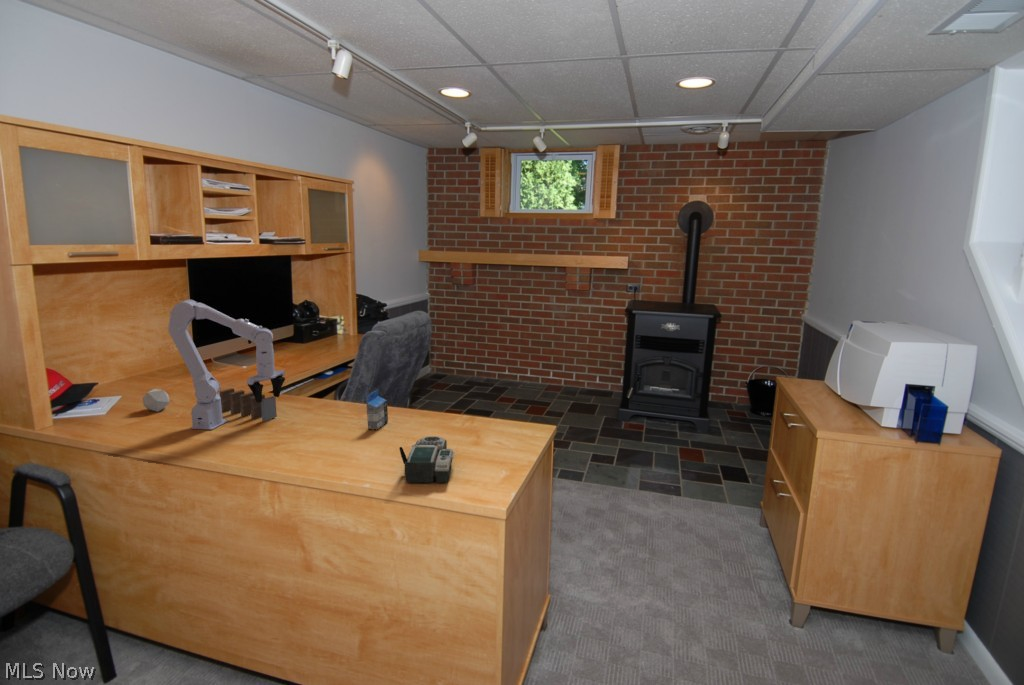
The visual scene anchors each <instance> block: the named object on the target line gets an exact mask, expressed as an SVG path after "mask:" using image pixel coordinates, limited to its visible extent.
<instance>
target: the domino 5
mask: <svg viewBox="0 0 1024 685" xmlns="http://www.w3.org/2000/svg"><path fill="white" fill-rule="evenodd" d="M276 398H277V397H274V395H273V396H272V395H271V396H269V397H265V399H262V402H261V410H262V417H261V420H262V421H261V422H264V421H266V422H269V421H271V420H270V419H272V418H275V417H277V418H278V416H277V402H276V401H277V400H276ZM275 419H276V418H275ZM268 420H269V421H268ZM272 420H273V419H272Z"/></svg>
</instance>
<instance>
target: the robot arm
mask: <svg viewBox="0 0 1024 685" xmlns="http://www.w3.org/2000/svg"><path fill="white" fill-rule="evenodd" d="M169 313H170V314H169V316H170V317H169V324H168V329H167V330H168V334H169V335H170V337H171V339H172V341H173V343H174V344H175V346H176V348H177V350H178V352H179V354H180V356H181V358H182V360H183V362H184V364H185V366H186V368H187V369H188V372H189V374H190V375H191V377H192V383H193V388H194V389H195V390H194V393H195V398H196V404H195V405H194V406H193V407H192V408H191V410H190V412H191V413H190V414H191V424H192V426H190V429H192V430H193V429H194V430H209V431H211V430H214V429H217V428H218V427H220V426H222V425H223V424H225V423H227V422H229V419H225V418H223V412H222V407H221V397H220V394H219V393H220V392H219V391H221V384H220V382H219V381H218V380H217V379H216V378H215V377H214V376H213V374H212V373H211V372H209V370H208V368H207V366H206V364H205V362H204V361H203V359H202V357H201V355H200V353H199V350H198V349H197V347H196V344H195V343H194V340H193V339H192V336H191V334H190V333H189V330H188V329H189V327H190V325H191V323H192V321H193V320H194V319H195V320H205V319H207V320H210V321H211V322H216V323H218V324H219V325H222V326H225V327H228V328H229V329H231V331H232V333H233V334H234V335H236V336H240V337H241V338H243V339H246V340H248V341H251V342H254V344H255V347H256V348H255V349H256V350H255V359H256V373H257V374H255V375H254V376H251V377H248V378H246V384H247V387H248V388H249V389H250V391H251V392H253V394H254V397H255V400H256V402H259V403H261V402H262V394H263V389H264V384H263V383H262V382H264V381H268V380H270V382H271V386H272V394H273V397H275V398H280V394H281V390H282V386H283V385H284V383H285V381H286V378H285V376H286V372H285V370H282V369H280V370H275V351H274V344H273V339H274V334H273V331H271V330H270V329H269V328H268V327H263V325H257V324H255V323H252V322H250V319H247V318H245V319H244V318H238V319H235V318H233V317H230V316H229V315H227V314H225V313H223V312H221V311H218V310H217V309H215V308H213V307H211V306H209V305H207V304H205V303H203V302H198V301H195V300H194V299H191V298H189V299H185V300H182V301H181V302H178V303H176V304H175V305H174V306H173V308H172V309H171V311H170V312H169ZM261 383H262V384H261Z"/></svg>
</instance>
